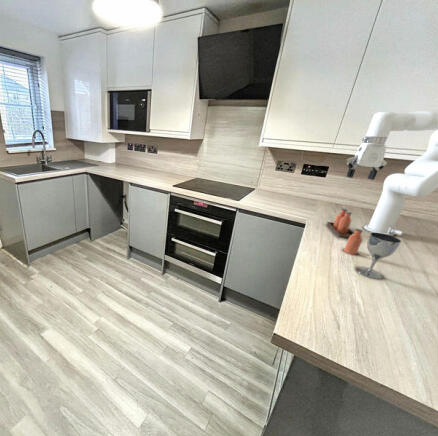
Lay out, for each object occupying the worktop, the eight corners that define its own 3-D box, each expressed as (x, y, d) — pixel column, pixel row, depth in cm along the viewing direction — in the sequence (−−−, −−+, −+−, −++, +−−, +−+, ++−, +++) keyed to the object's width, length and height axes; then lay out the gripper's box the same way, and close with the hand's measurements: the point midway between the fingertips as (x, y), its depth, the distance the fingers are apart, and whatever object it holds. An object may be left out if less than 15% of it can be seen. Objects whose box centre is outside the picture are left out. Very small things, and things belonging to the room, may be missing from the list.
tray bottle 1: (344, 228, 128) (351, 210, 125) (339, 229, 127) (346, 210, 123) (335, 225, 132) (342, 207, 128) (330, 226, 130) (337, 208, 126)
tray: (326, 225, 134) (327, 221, 134) (343, 227, 132) (344, 224, 131) (338, 238, 118) (339, 234, 117) (358, 241, 115) (359, 238, 114)
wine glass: (376, 281, 84) (394, 244, 78) (350, 269, 91) (365, 234, 85) (387, 276, 87) (405, 240, 81) (362, 265, 94) (377, 231, 88)
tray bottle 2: (348, 232, 123) (356, 213, 119) (343, 234, 122) (351, 214, 118) (339, 229, 127) (346, 210, 123) (334, 230, 125) (341, 211, 121)
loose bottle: (358, 253, 103) (368, 230, 99) (353, 255, 102) (362, 232, 98) (347, 249, 107) (356, 226, 103) (341, 250, 105) (350, 228, 101)
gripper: (360, 140, 105) (346, 178, 111) (402, 143, 104) (385, 181, 110) (349, 139, 112) (336, 175, 118) (387, 142, 111) (372, 178, 117)
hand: (359, 178), depth 114 cm, fingers open, 9 cm apart
